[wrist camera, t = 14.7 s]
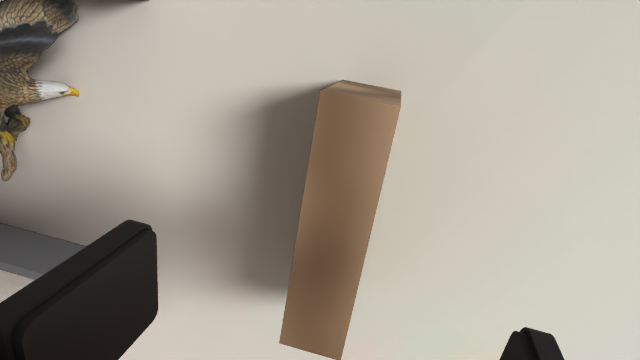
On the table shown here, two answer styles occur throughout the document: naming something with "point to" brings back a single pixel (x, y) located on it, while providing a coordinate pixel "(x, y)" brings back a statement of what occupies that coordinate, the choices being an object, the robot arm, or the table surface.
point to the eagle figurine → (26, 64)
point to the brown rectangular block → (337, 213)
